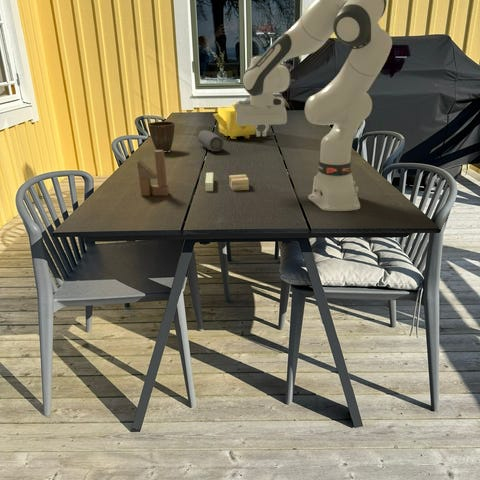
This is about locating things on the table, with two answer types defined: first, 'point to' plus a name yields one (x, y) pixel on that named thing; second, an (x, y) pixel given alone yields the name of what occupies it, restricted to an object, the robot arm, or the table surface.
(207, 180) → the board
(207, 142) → the bluetooth speaker
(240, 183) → the oak block
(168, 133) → the plant pot
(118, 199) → the table surface
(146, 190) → the wooden block
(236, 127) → the cube teapot
